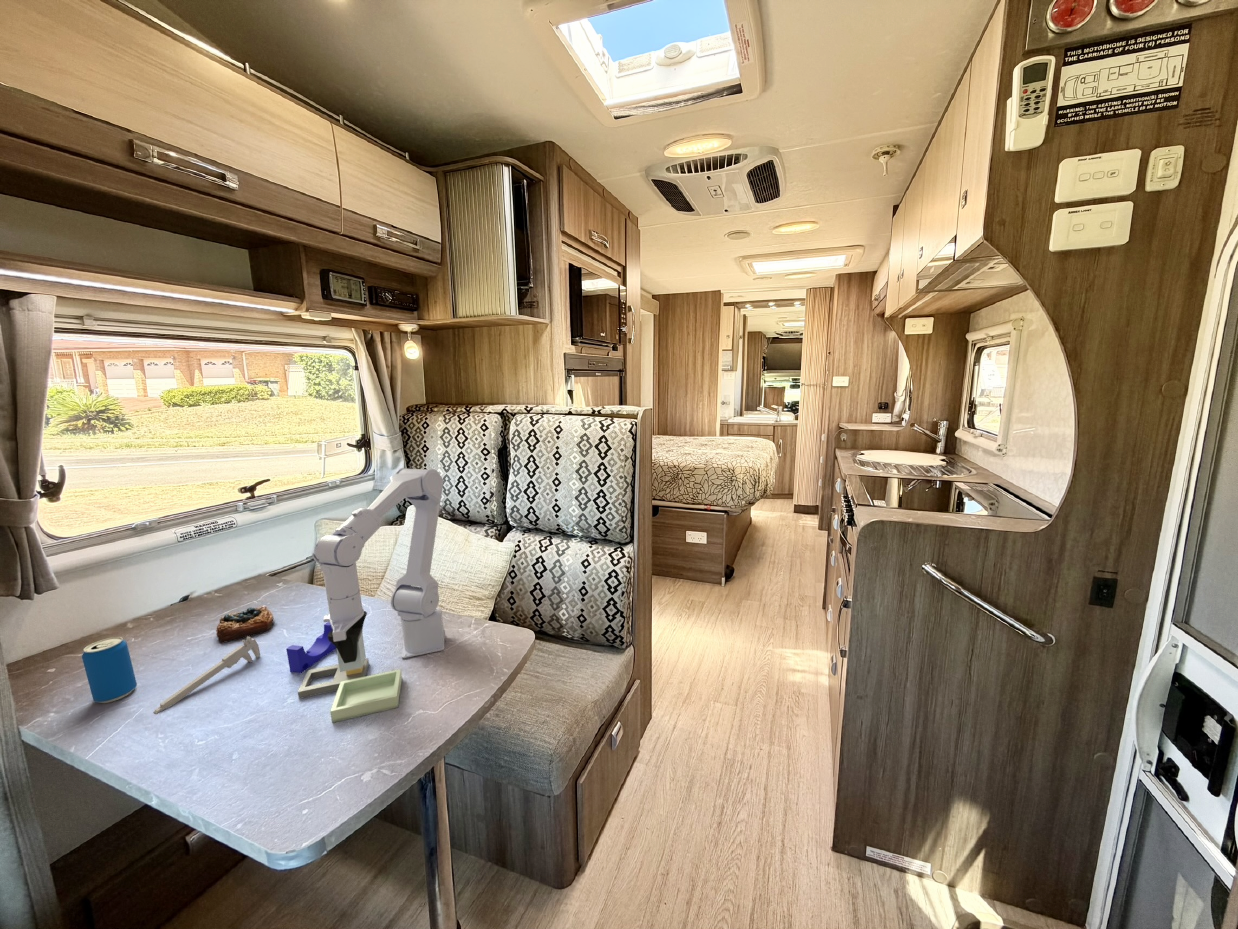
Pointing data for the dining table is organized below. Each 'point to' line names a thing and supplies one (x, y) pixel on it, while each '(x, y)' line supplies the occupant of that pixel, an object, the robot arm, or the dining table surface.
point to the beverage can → (109, 669)
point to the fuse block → (333, 685)
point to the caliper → (214, 671)
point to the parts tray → (367, 695)
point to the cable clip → (310, 652)
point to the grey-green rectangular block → (359, 659)
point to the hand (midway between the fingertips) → (352, 655)
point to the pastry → (244, 624)
